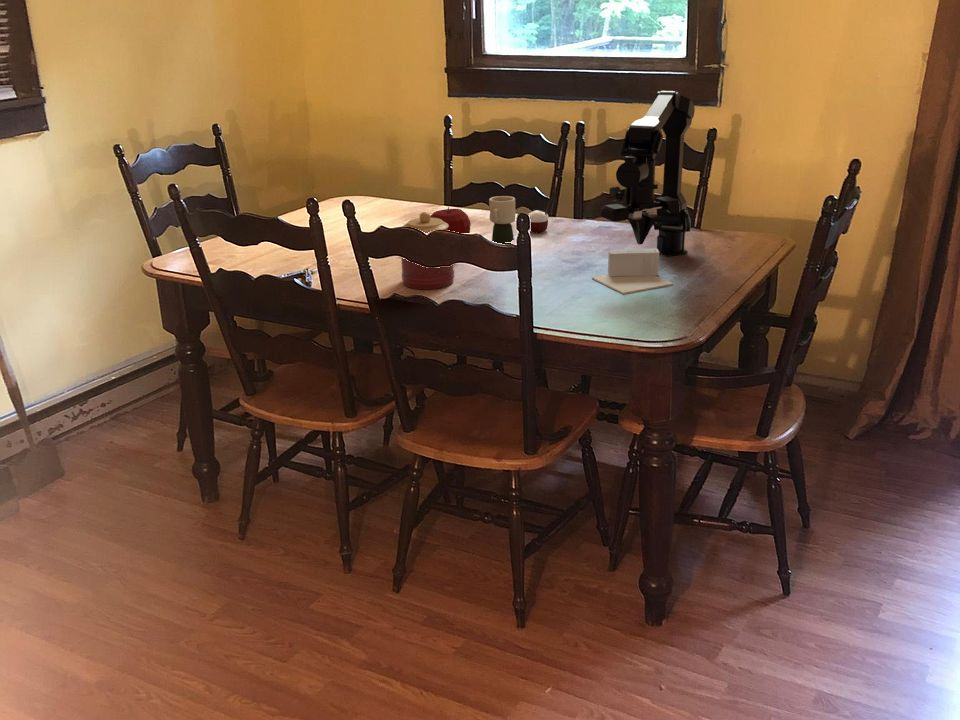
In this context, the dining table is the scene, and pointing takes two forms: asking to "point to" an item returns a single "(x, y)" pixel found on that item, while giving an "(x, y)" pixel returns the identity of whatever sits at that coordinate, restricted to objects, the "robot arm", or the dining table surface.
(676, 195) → the robot arm
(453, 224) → the apple
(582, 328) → the dining table surface
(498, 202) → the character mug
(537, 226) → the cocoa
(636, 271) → the skincare box
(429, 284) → the canister
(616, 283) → the mat
